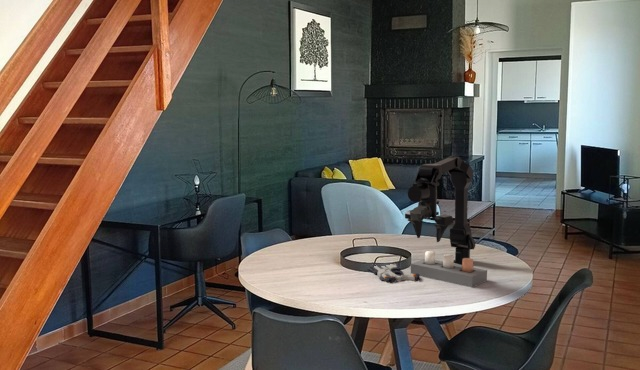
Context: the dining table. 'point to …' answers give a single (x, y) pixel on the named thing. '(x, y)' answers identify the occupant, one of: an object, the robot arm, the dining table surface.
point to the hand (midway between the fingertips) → (428, 239)
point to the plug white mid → (448, 261)
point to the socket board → (449, 273)
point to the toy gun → (393, 273)
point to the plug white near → (430, 257)
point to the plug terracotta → (467, 265)
